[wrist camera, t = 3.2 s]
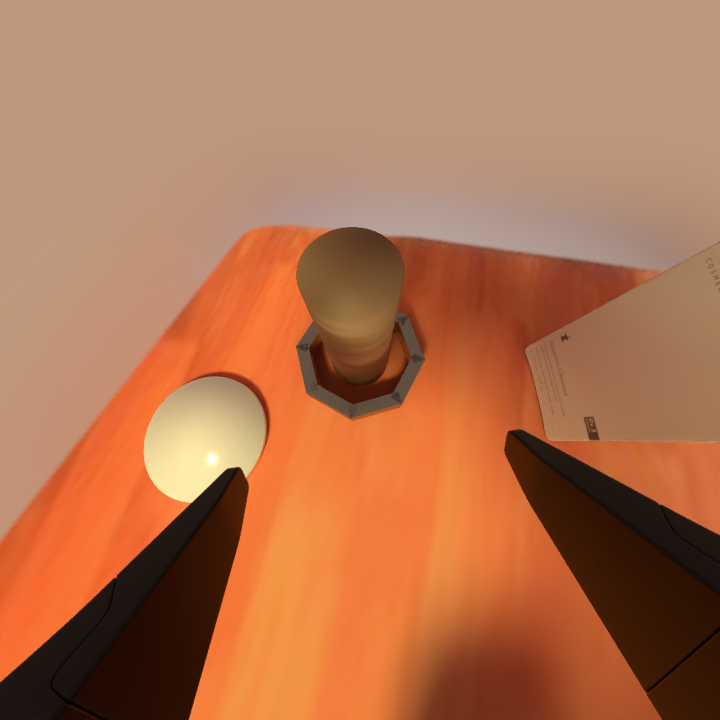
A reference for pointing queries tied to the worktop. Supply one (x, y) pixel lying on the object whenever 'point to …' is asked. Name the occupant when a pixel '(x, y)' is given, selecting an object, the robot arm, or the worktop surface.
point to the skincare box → (638, 362)
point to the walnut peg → (353, 298)
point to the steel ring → (372, 406)
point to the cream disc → (204, 436)
